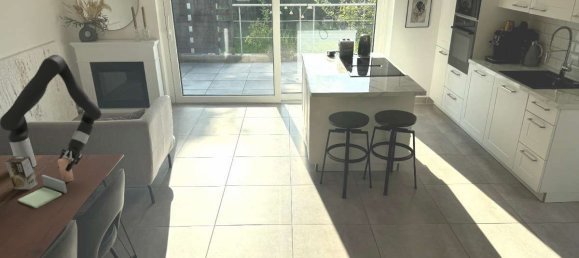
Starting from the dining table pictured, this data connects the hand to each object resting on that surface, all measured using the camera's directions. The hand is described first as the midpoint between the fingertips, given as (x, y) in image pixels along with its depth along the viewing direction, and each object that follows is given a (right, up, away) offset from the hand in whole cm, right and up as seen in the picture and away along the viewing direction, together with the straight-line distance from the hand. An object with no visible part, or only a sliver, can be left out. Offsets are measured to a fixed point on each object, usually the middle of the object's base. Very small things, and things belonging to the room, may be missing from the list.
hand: (63, 169), depth 207 cm
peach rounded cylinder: (0, -6, +3) cm, 7 cm away
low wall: (-1, -9, -5) cm, 11 cm away
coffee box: (-18, -9, -2) cm, 20 cm away
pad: (-4, -13, -13) cm, 19 cm away
